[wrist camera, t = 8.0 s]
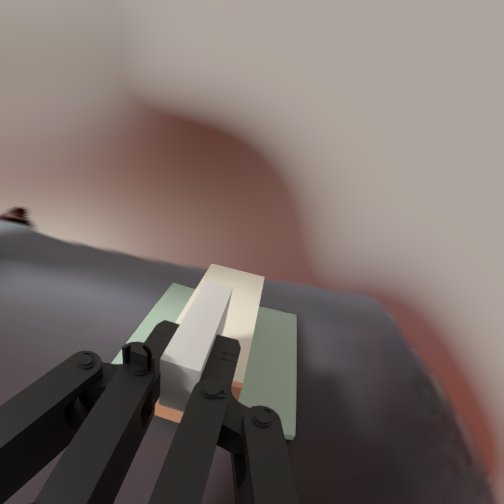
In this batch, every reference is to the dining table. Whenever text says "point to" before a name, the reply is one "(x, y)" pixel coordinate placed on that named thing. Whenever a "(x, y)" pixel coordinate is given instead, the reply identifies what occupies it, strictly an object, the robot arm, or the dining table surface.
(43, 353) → the dining table surface
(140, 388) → the robot arm
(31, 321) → the dining table surface
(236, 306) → the cream block
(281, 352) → the sage mat
